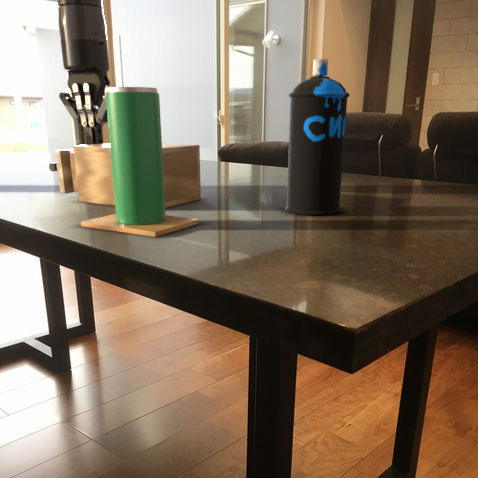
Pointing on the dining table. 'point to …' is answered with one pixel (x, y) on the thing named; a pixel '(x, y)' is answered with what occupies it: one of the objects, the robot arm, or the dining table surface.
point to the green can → (136, 154)
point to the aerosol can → (316, 144)
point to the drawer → (65, 170)
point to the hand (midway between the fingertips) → (95, 149)
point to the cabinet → (174, 172)
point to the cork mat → (148, 230)
